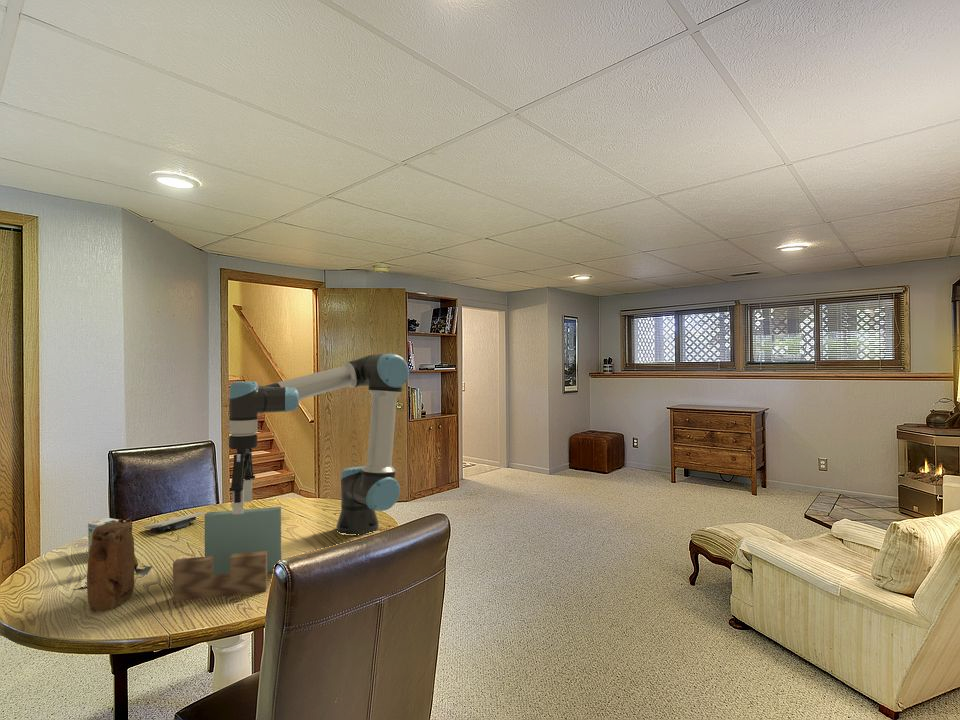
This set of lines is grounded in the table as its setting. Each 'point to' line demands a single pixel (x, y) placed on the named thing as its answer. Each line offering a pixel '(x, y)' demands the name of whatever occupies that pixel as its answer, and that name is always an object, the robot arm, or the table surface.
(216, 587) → the walnut slotted board
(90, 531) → the light bulb box
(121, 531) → the block
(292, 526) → the table surface
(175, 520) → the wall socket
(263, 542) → the teal slotted plate
